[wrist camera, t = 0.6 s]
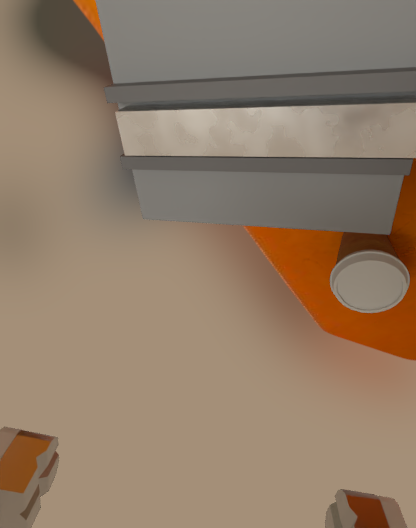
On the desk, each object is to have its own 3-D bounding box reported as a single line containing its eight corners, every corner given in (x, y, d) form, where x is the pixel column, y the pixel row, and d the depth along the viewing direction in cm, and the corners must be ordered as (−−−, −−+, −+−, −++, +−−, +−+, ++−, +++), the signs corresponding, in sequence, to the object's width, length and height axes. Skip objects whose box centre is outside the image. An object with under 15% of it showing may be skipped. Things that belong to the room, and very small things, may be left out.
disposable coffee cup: (413, 233, 52) (430, 284, 43) (367, 274, 58) (372, 326, 49) (359, 199, 51) (364, 243, 42) (318, 244, 57) (314, 291, 48)
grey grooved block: (208, -3, 43) (82, -6, 21) (392, -26, 37) (466, -59, 16) (218, 141, 52) (138, 236, 31) (365, 140, 47) (389, 256, 26)
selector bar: (128, 104, 26) (114, 111, 24) (625, 86, 18) (654, 94, 16) (137, 147, 27) (124, 156, 26) (593, 147, 20) (615, 161, 18)
